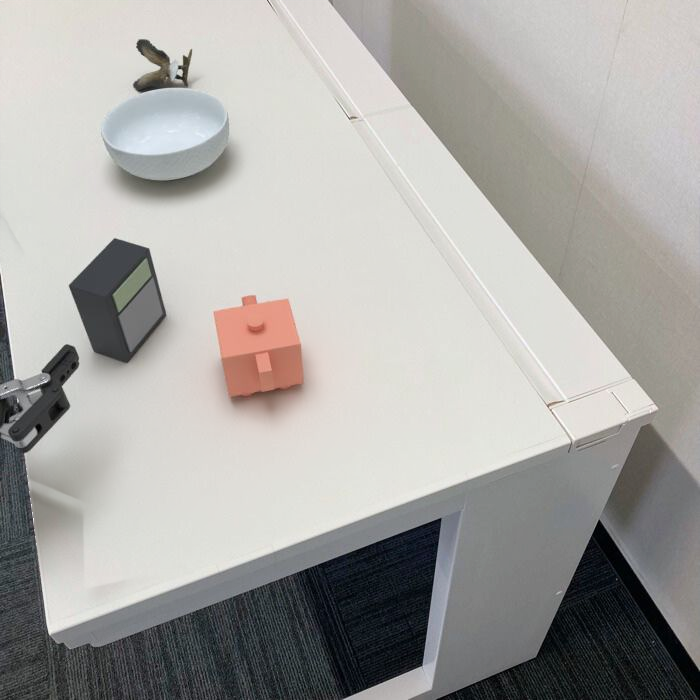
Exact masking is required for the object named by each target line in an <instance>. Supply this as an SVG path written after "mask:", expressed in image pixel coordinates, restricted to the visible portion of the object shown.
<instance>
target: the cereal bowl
mask: <svg viewBox="0 0 700 700" xmlns="http://www.w3.org/2000/svg"><path fill="white" fill-rule="evenodd" d="M100 134H101V137H102V141H103V144H104V146H105V149H106V151H107V152H108V154H109V156H110V157H111V159H112V160H113V161H114V163H115V164H116V165H117V166H118V167H119V168H121V169H122V170H123V171H125V172H127V173H129V174H131V175H132V176H135V177H138V178H141V179H145V180H151V181H152V180H153V181H171V180H172V181H174V180H179V179H183V178H187V177H190V176H194V175H196V174H198V173H200V172H202V171H204V170H205V169H207V168H209V167H210V166H211V165H212V164H214V163H215V162H216V161H217V160H218V159H219V157H220V156H221V155H222V154H223V152H224V150H225V149H226V147H227V145H228V141H229V137H230V136H229V135H230V118H229V112H228V110H227V107H226V106H225V104H224V103H223V102H222V100H220V99H219V98H218V97H216V96H215V95H213V94H212V93H208V92H206V91H202V90H200V89H194V88H188V87H165V88H164V87H163V88H158V89H157V88H156V89H152V90H148V91H144V92H141V93H138V94H135V95H133V96H131V97H128V98H126V99H124V100H123V101H121V102H119V103H117V104H116V105H114V107H112V108H111V109H110V110H109V111H108V112H107V113H106V114H105V116H104V117H103V119H102V121H101V123H100Z"/></svg>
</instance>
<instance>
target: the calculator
mask: <svg viewBox="0 0 700 700" xmlns="http://www.w3.org/2000/svg"><path fill="white" fill-rule="evenodd" d="M68 288H69V290H70V293H71V295H72V298H73V301H74V304H75V307H76V309H77V312H78V314H79V317H80V319H81V322H82V324H83V328H84V330H85V333H86V335H87V338H88V341H89V344H90V346H91V349H92V351H93V352H94V353H96V354H100V355H102V356H106V357H108V358H111V359H114V360H117V361H120V362H122V363H126V364H128V363H129V362H130V360H131V359H132V358H133V356H134V355H135V354H136V353H137V352H138V351H139V349H140V348H141V347H142V345H143V344H144V343H145V342H146V341H147V340H148V338H149V337H150V336H151V335H152V333H153V332H154V331H155V330H156V328H157V327H158V326H159V325H160V324H161V322H162V321H163V320H164V318H165V317H166V316H167V311H166V307H165V304H164V300H163V296H162V292H161V288H160V284H159V280H158V276H157V273H156V269H155V265H154V261H153V258H152V254H151V250H150V248H149V247H146V246H143V245H139V244H136V243H133V242H130V241H126V240H122V239H119V238H116V237H114V238H113V239H112V240H111V241H110V242H109V243H108V244H107V245H106V246H105V247H104V248H103V249H102V250H101V251H100V252H99V253H98V254H97V255H96V256H95V257H94V258H93V259H92V260H91V261H90V263H88V264H87V265H86V267H85V268H84V269H83V270H82V271H81V272H80V273H78V275H77V276H76V277H75V278H74V279H73V280H72V281H71V282H70V283H69V284H68Z"/></svg>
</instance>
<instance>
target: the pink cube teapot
mask: <svg viewBox="0 0 700 700" xmlns="http://www.w3.org/2000/svg"><path fill="white" fill-rule="evenodd" d="M241 304H242V305H240V306H235V307H230V308H229V307H228V308H223V309H218V310H214V311H213V317H214V324H215V327H216V328H215V329H216V334H217V340H218V345H219V352H220V356H221V357H220V358H221V363H222V368H223V372H224V377H225V382H226V383H225V384H226V387H227V394H228V397H229V398H232V397H236V396H242V397H250V396H252V395H253V394H254V393H258V392H262V393H264V392H269V391H274V390H275V389H280V390H288V389H290V388H291V387H292V386H295V385H300V384H305V381H304V367H303V357H302V356H303V354H302V345H301V340H300V336H299V333H298V330H297V325H296V322H295V318H294V315H293V311H292V307H291V303H290V300H289V298H282V299H277V300H271V301H264V302H258V301H257V296H256V295H255V294H251V295H245V296H242V297H241Z"/></svg>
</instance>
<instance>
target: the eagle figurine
mask: <svg viewBox="0 0 700 700" xmlns="http://www.w3.org/2000/svg"><path fill="white" fill-rule="evenodd" d="M135 48H136V49H137V51H138V52H139V53H140V55H141V56H143V57H145V58H146V60H147V61H148V62H150V63H151V64H153V65H156V66H158V67H160V68H159V69H158V70H155V71H151V72H147V73H145V74H143V75H142V76H140V78H137V80H135V81H134V82H133V83H132V87H134V89H135V90H137V91H138V90H140V91H141V90H144V89H146V88H149V87H158V86H161V85H163V84H164V83H165V81H167V78H169V79H170V81H171V82H173V81H174V80H179V81H182V83H183V85H184V86H185V88H188V86H189V84H188V77H189V76H188V75H189V69H190V65H191V60H192V56H193V48H190V49H189V52H188V53H187V56H186V55H184V54H183V55H182V64H181V65H180V64H179V63H178V61H177V59H174V60H173V61H172V62H171V59H170V56H169V55H168V54H167V53H166V52H165V51H164V50H162V49H158V48H156V46H154V44H153V43H152V42H151V41H150V39H149V40H148V39H145V38H139V39H138V40H137V41H136V45H135ZM179 70H181V71H182V74H181V75H179V74H178V72H179Z"/></svg>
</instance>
